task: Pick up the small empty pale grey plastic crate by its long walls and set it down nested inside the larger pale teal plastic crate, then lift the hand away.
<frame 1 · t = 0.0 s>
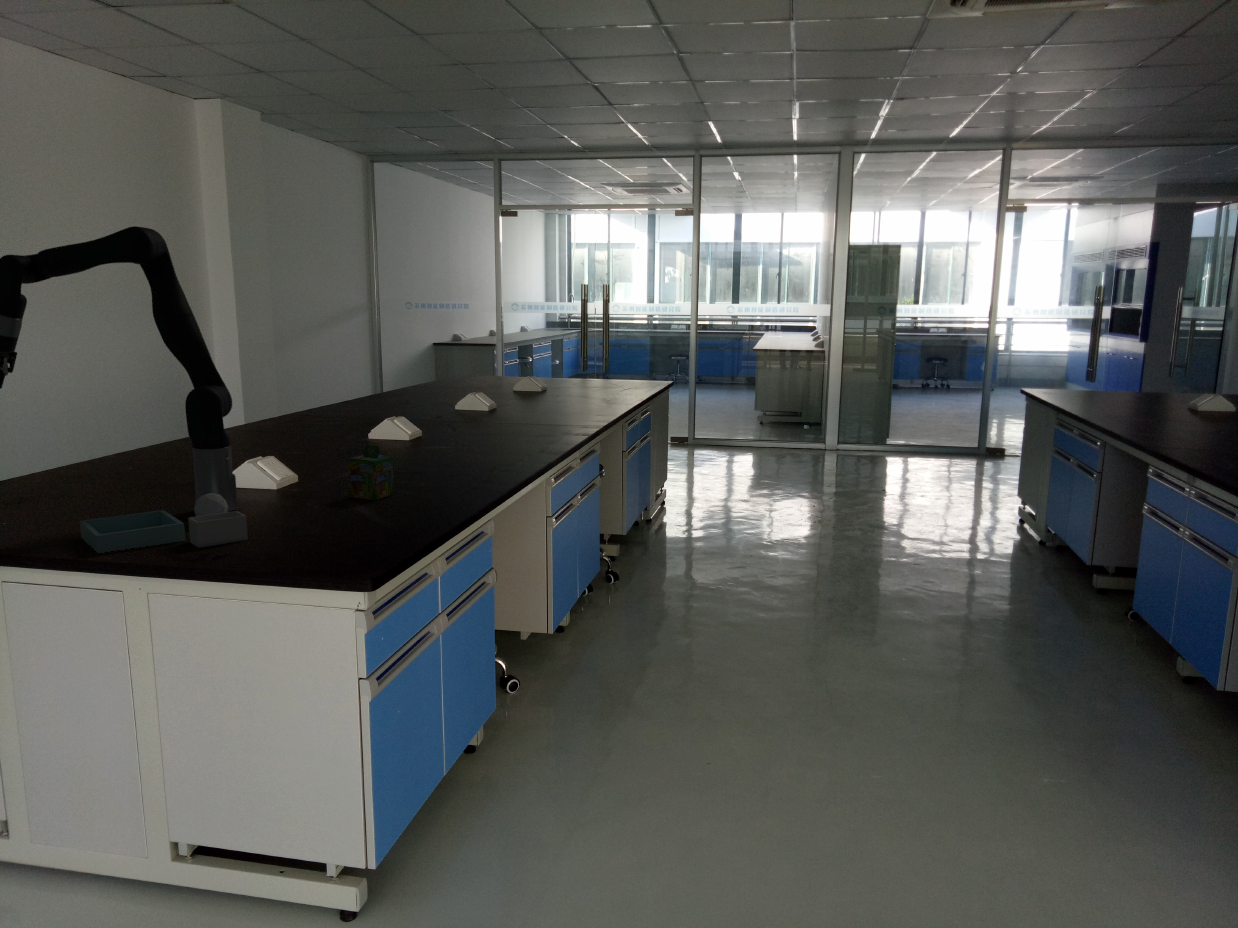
geometric ball: (212, 523, 223), on the worktop
grey crate: (219, 541, 208), on the worktop
chalk box: (371, 497, 256), on the worktop
teal crate: (133, 540, 208), on the worktop
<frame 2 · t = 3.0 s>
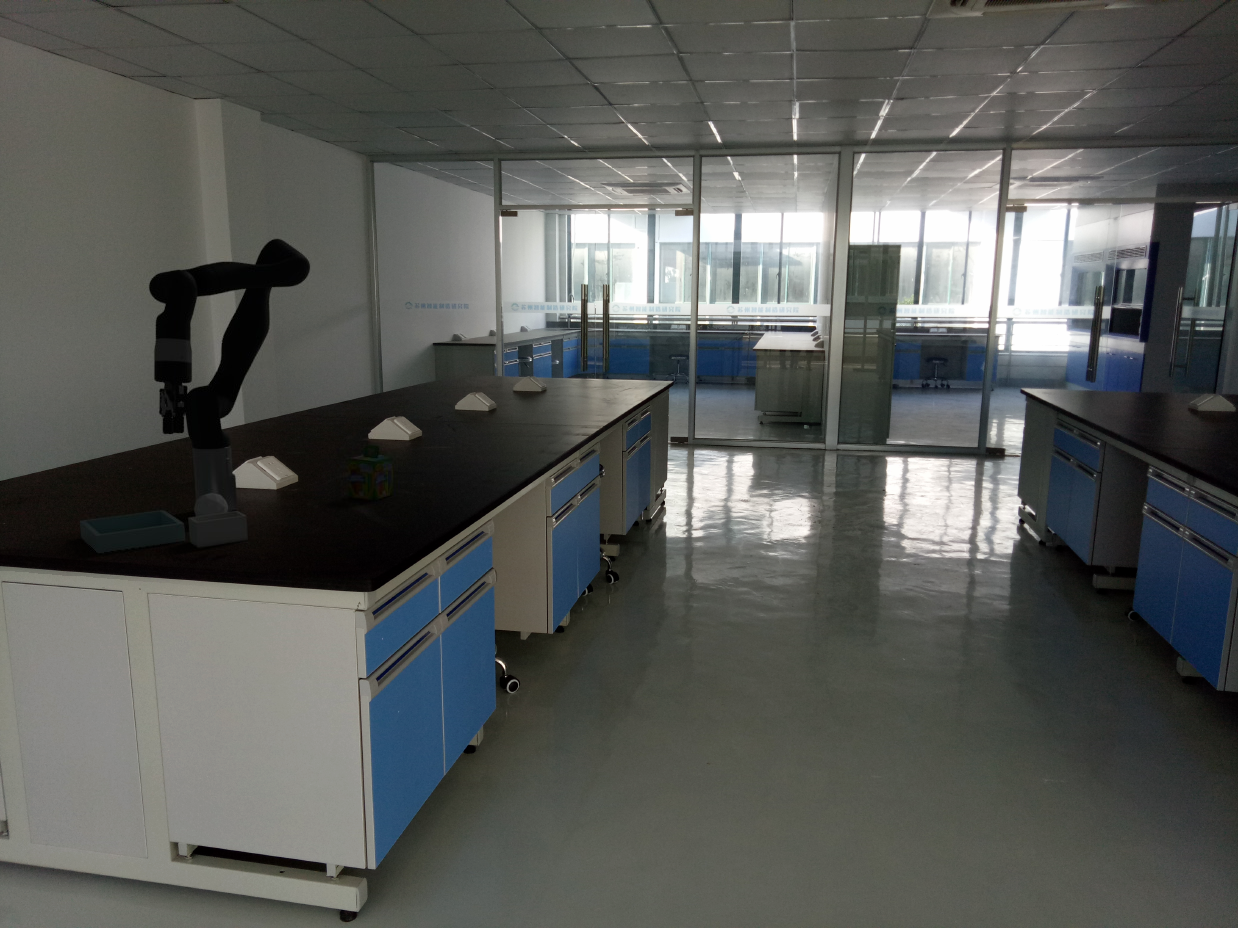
hand: (173, 433, 198), 26 cm above the worktop, tool pointing down, fingers open, 8 cm apart
nothing on the worktop moved.
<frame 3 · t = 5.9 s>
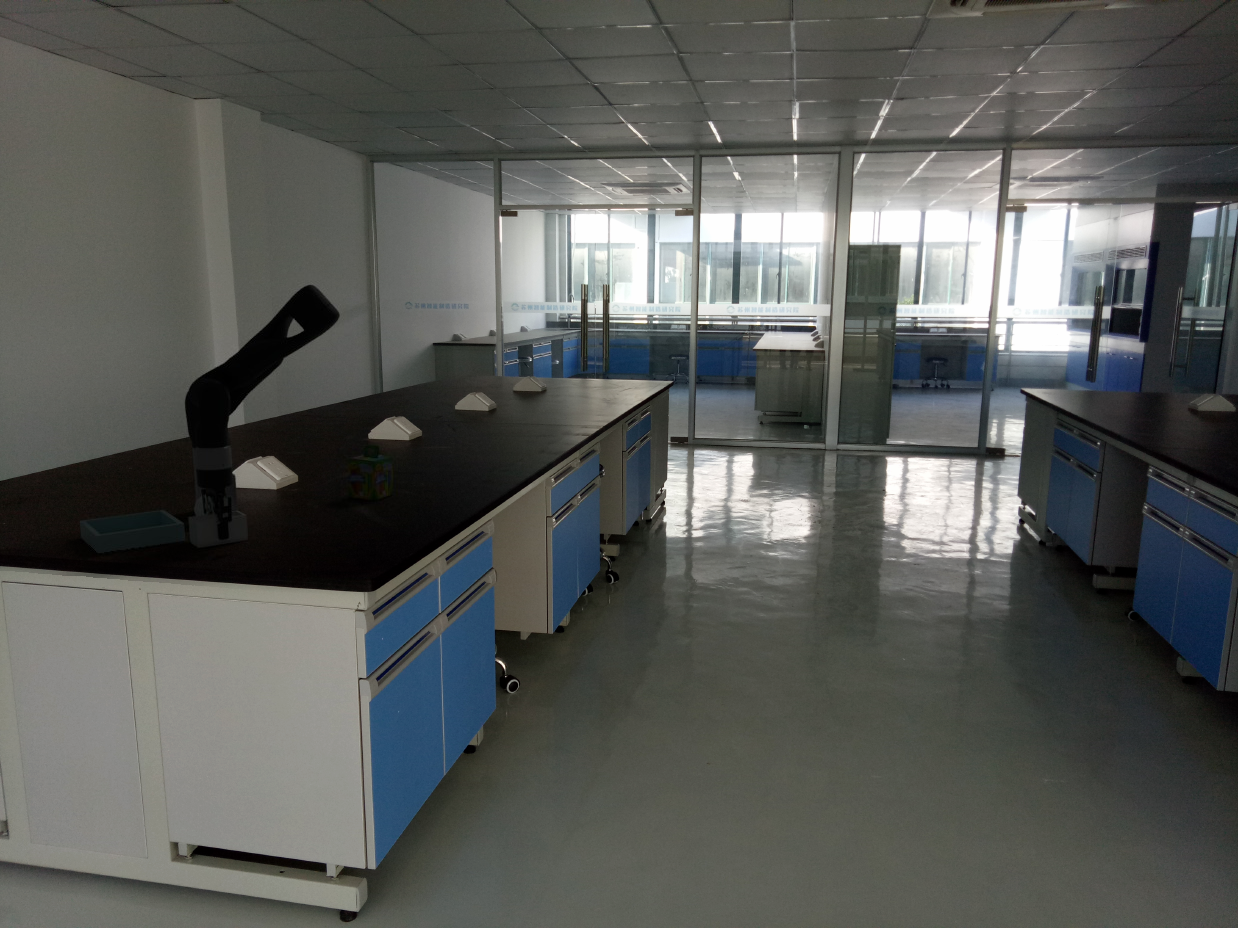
hand: (218, 535, 207), 1 cm above the worktop, tool pointing down, fingers closed on grey crate, 6 cm apart
grey crate: (219, 541, 207), on the worktop, touching gripper
everything else where it was.
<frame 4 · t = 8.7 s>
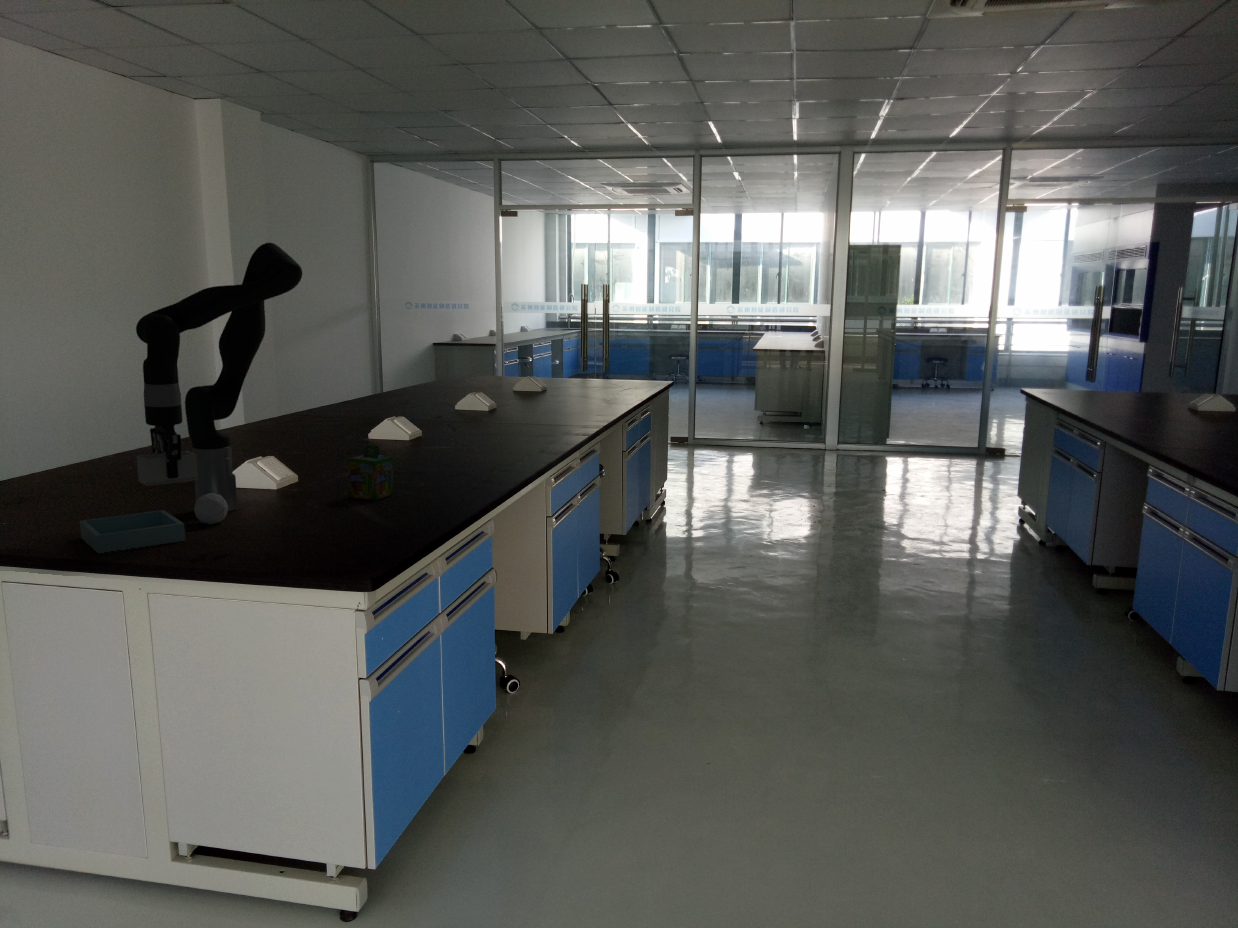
hand: (168, 475, 205), 15 cm above the worktop, tool pointing down, fingers closed on grey crate, 6 cm apart
grey crate: (168, 480, 205), point 14 cm above the worktop, touching gripper
everything else where it was.
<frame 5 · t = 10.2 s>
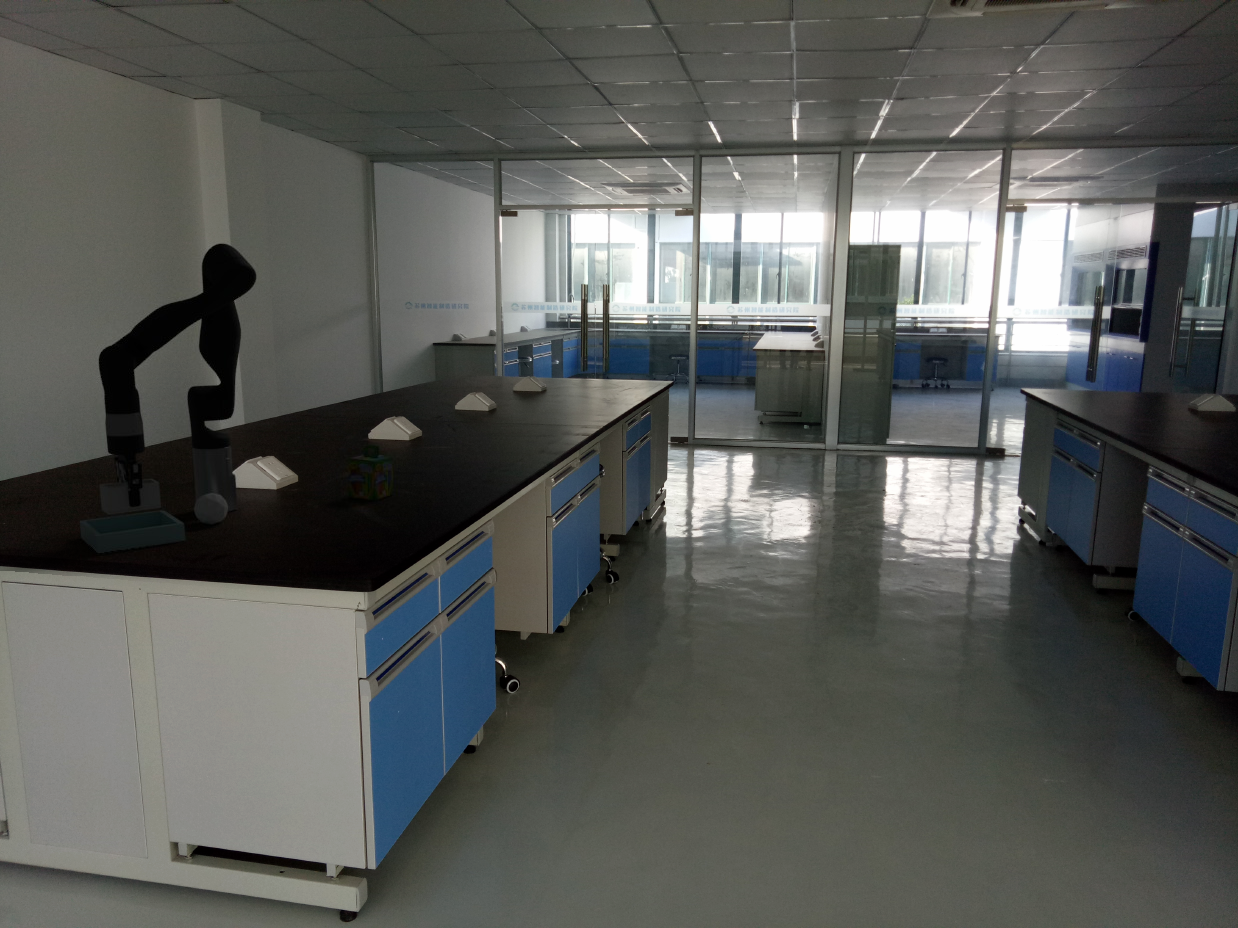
hand: (131, 503, 206), 9 cm above the worktop, tool pointing down, fingers closed on grey crate, 6 cm apart
grey crate: (131, 508, 206), point 7 cm above the worktop, touching gripper
everything else where it was.
when the fingers open (4 cm above the worktop, at t = 11.4 s): grey crate drops 2 cm, resting on teal crate.
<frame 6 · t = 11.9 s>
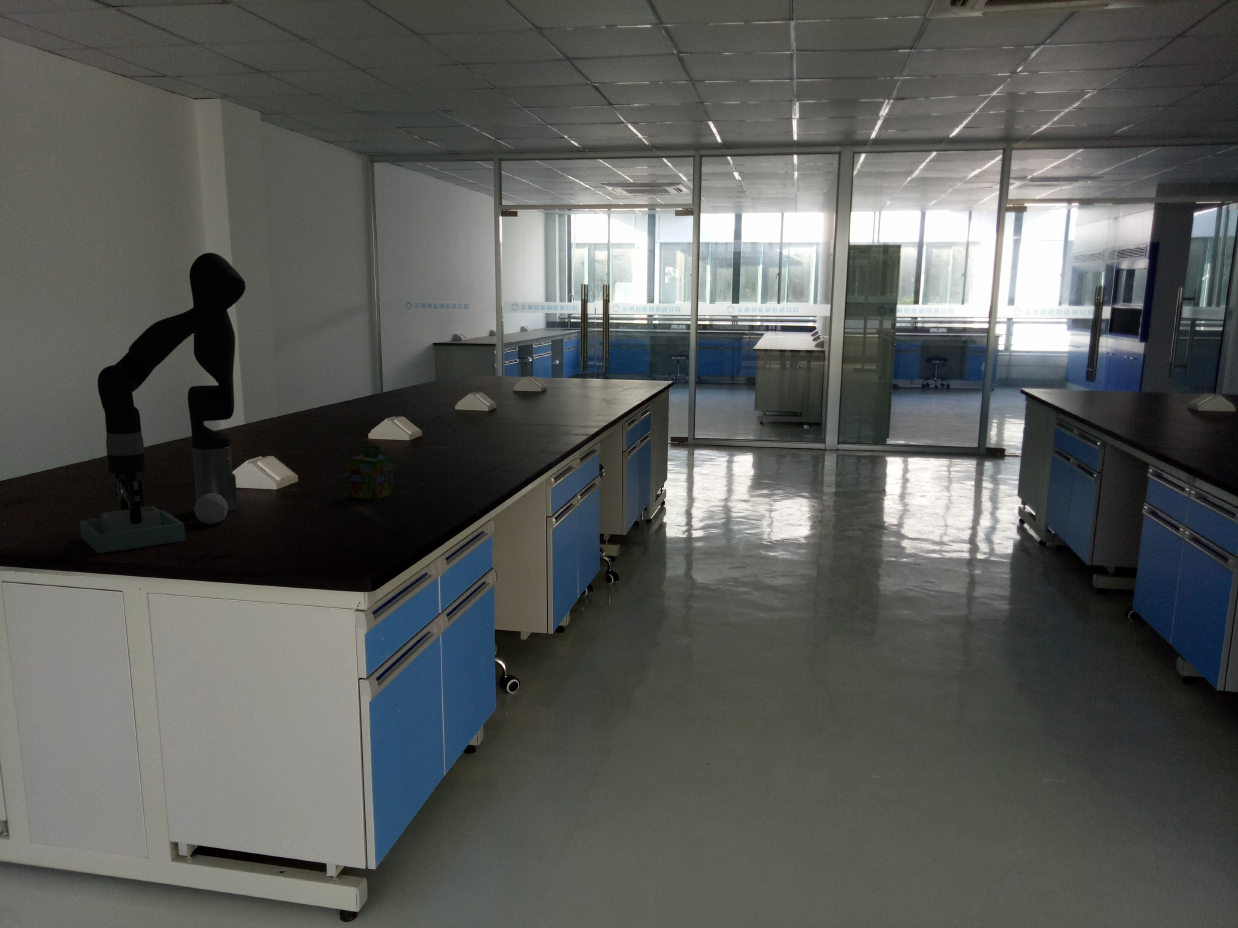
hand: (131, 519, 207), 5 cm above the worktop, tool pointing down, fingers open, 8 cm apart
grey crate: (132, 536, 208), point 1 cm above the worktop, touching teal crate
teal crate: (133, 541, 208), on the worktop, touching grey crate
everything else where it was.
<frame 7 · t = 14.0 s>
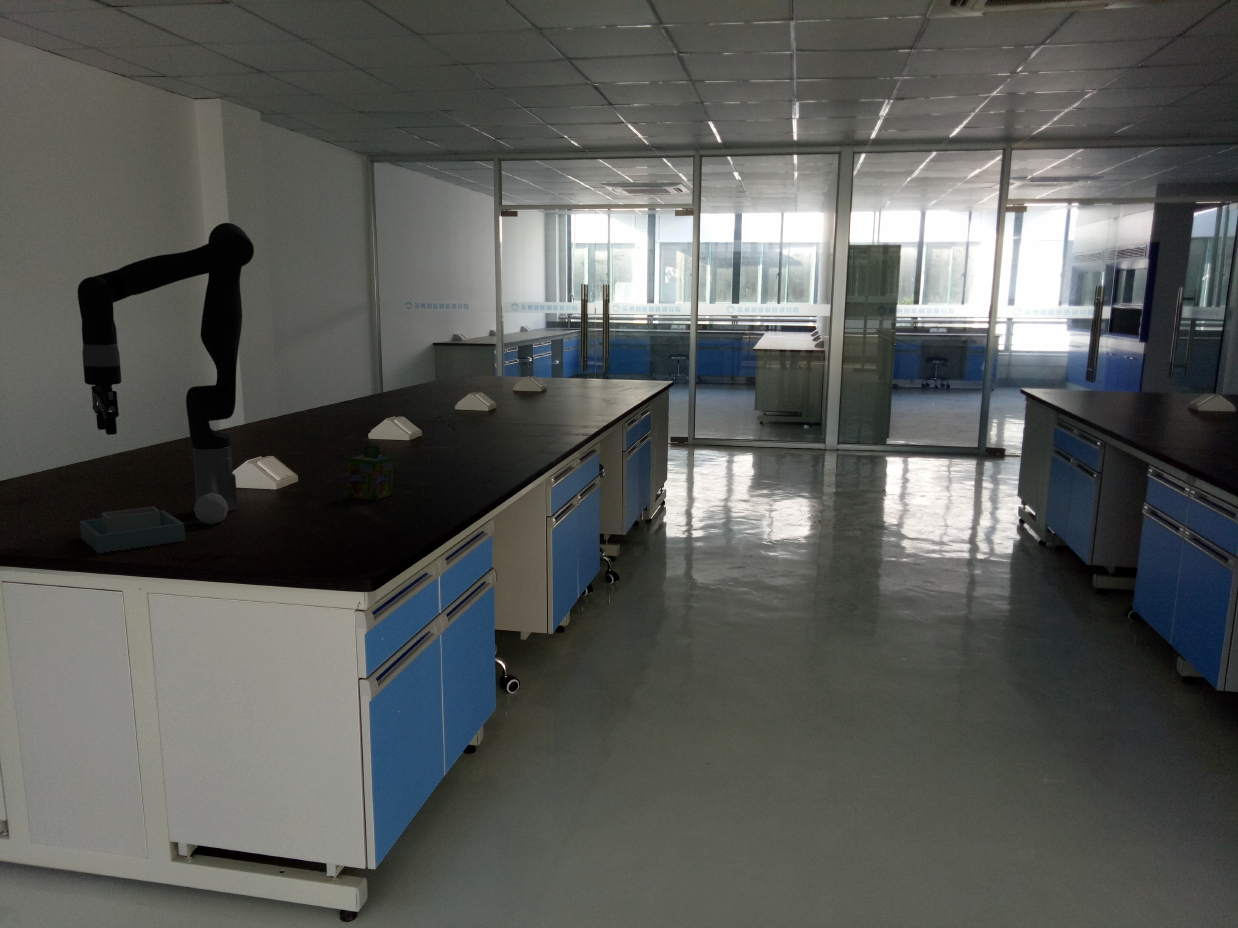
hand: (107, 431, 211), 24 cm above the worktop, tool pointing down, fingers open, 8 cm apart
nothing on the worktop moved.
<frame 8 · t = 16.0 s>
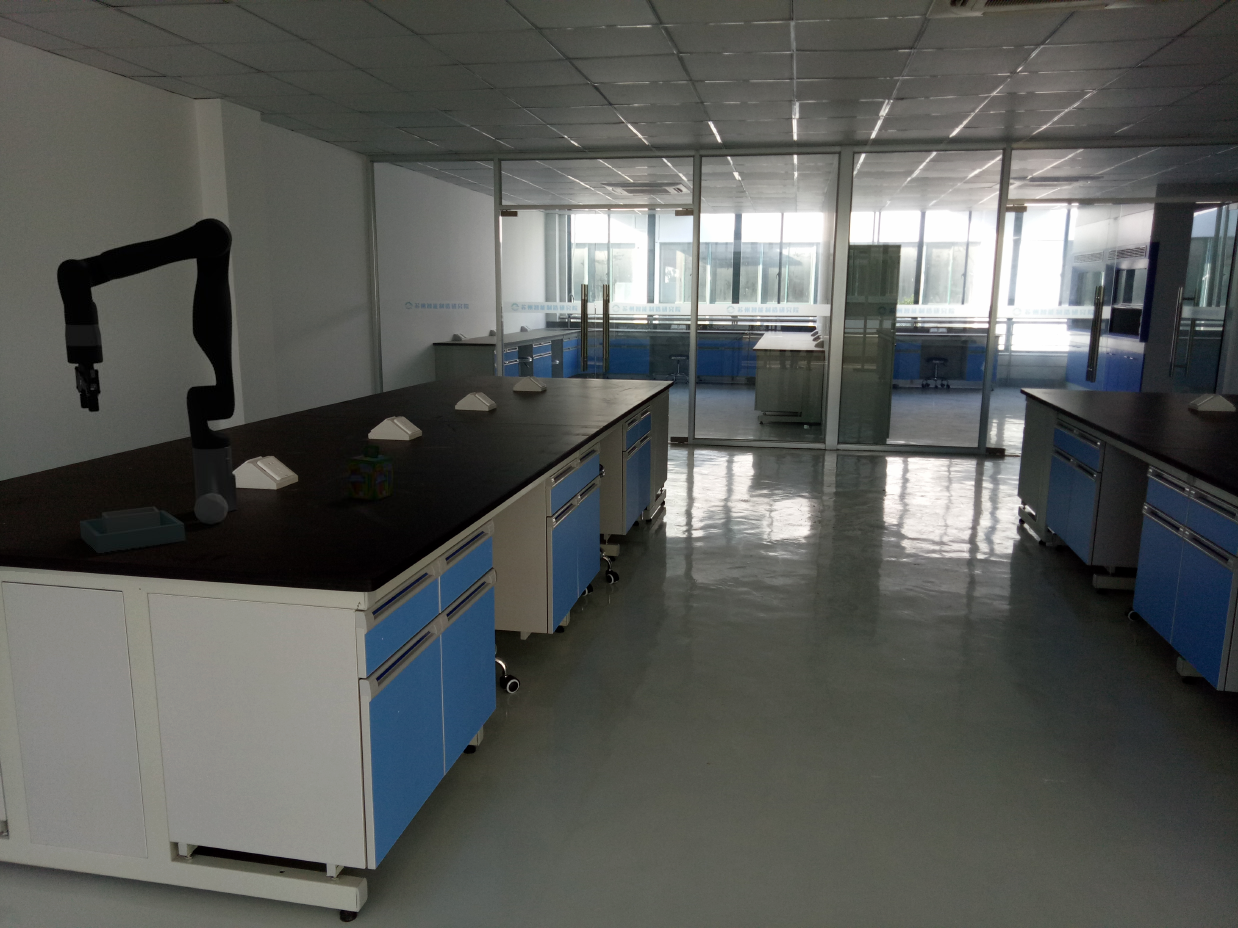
hand: (90, 409, 218), 28 cm above the worktop, tool pointing down, fingers open, 8 cm apart
nothing on the worktop moved.
at the end: grey crate 0.0 cm off-centre on the teal crate, point 1.0 cm above the teal crate's base; grey crate tilted 0°; the gripper is holding nothing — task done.
